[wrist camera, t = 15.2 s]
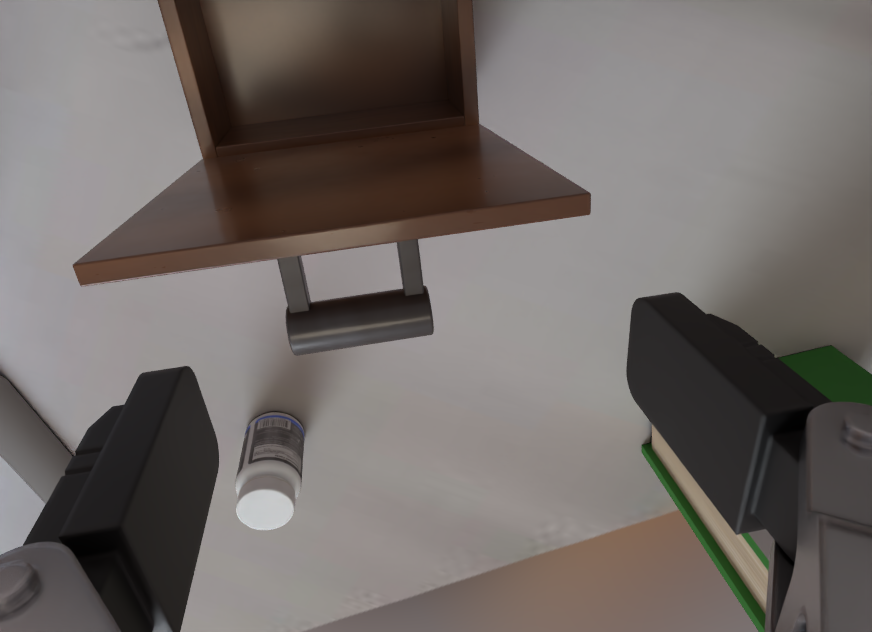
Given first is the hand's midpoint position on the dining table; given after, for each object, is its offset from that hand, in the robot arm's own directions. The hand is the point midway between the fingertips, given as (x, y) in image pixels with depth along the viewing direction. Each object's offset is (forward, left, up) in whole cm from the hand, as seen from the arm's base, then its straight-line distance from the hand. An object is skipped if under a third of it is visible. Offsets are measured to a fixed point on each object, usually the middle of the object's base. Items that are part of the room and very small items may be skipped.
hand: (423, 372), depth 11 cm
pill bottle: (+27, +3, -31) cm, 41 cm away
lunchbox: (-5, -5, -31) cm, 31 cm away
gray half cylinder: (+36, -12, -31) cm, 49 cm away
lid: (+1, -1, -16) cm, 16 cm away
